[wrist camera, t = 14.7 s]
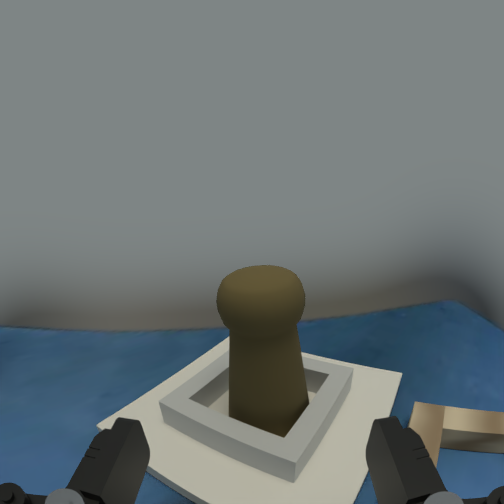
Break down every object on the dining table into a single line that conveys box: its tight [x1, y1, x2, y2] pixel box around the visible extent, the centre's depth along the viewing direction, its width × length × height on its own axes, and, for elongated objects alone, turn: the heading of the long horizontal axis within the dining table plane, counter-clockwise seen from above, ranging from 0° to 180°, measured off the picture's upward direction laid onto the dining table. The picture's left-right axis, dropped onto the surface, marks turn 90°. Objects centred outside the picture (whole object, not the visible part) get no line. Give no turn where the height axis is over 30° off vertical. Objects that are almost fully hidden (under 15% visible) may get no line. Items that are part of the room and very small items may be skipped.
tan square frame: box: [407, 402, 504, 467], centre depth 12 cm, size 13×13×2 cm
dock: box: [96, 337, 402, 504], centre depth 22 cm, size 18×18×3 cm
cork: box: [217, 265, 309, 438], centre depth 20 cm, size 6×6×11 cm
